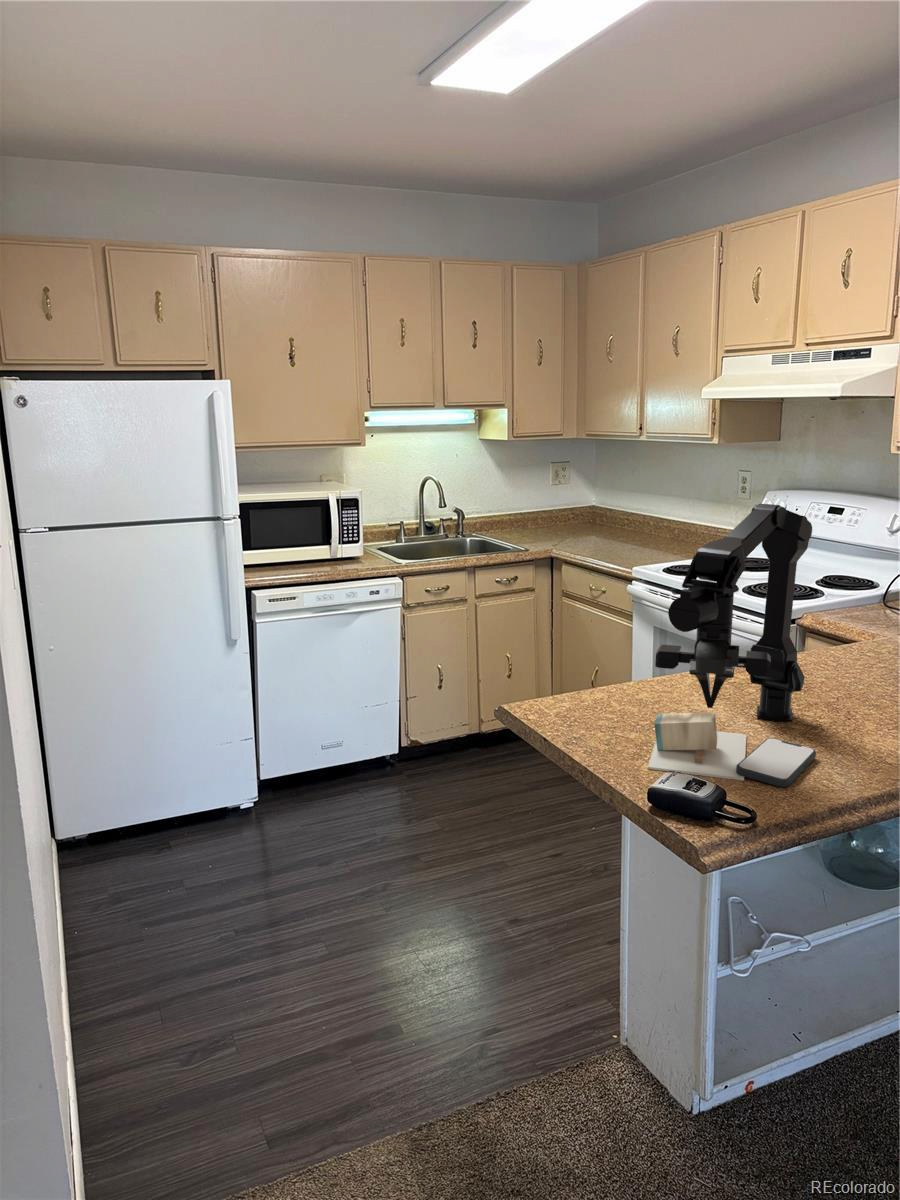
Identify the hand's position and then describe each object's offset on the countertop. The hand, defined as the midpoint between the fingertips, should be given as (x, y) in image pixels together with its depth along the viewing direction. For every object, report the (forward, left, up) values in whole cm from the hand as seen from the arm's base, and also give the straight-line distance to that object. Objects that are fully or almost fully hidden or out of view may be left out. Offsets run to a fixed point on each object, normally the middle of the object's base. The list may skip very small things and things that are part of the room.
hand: (710, 707), depth 150 cm
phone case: (+3, +11, -8) cm, 14 cm away
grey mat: (0, -1, -8) cm, 9 cm away
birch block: (0, +1, -4) cm, 4 cm away
